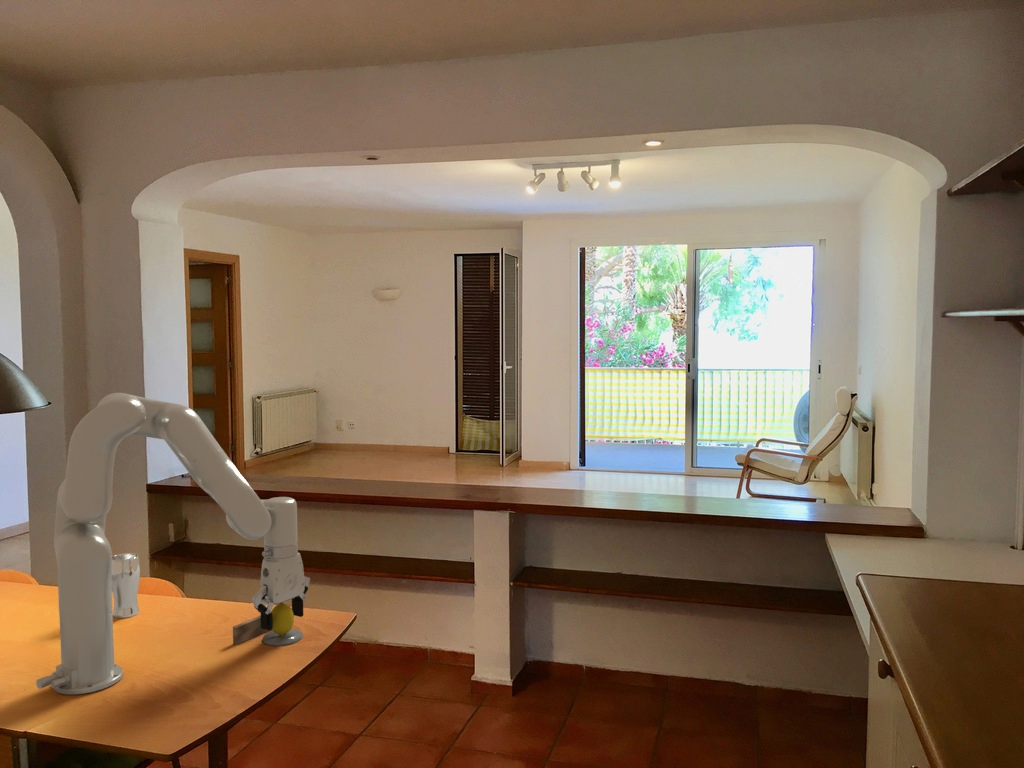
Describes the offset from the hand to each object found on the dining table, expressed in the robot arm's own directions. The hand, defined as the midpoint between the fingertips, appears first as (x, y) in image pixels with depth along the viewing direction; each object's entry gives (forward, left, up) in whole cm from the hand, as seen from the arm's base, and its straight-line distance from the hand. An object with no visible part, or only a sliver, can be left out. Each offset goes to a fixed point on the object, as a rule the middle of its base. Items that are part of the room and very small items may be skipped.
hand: (282, 622), depth 181 cm
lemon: (0, 0, -4) cm, 4 cm away
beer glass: (-8, +47, -4) cm, 48 cm away
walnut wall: (0, +7, -4) cm, 8 cm away
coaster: (0, 0, -4) cm, 4 cm away
